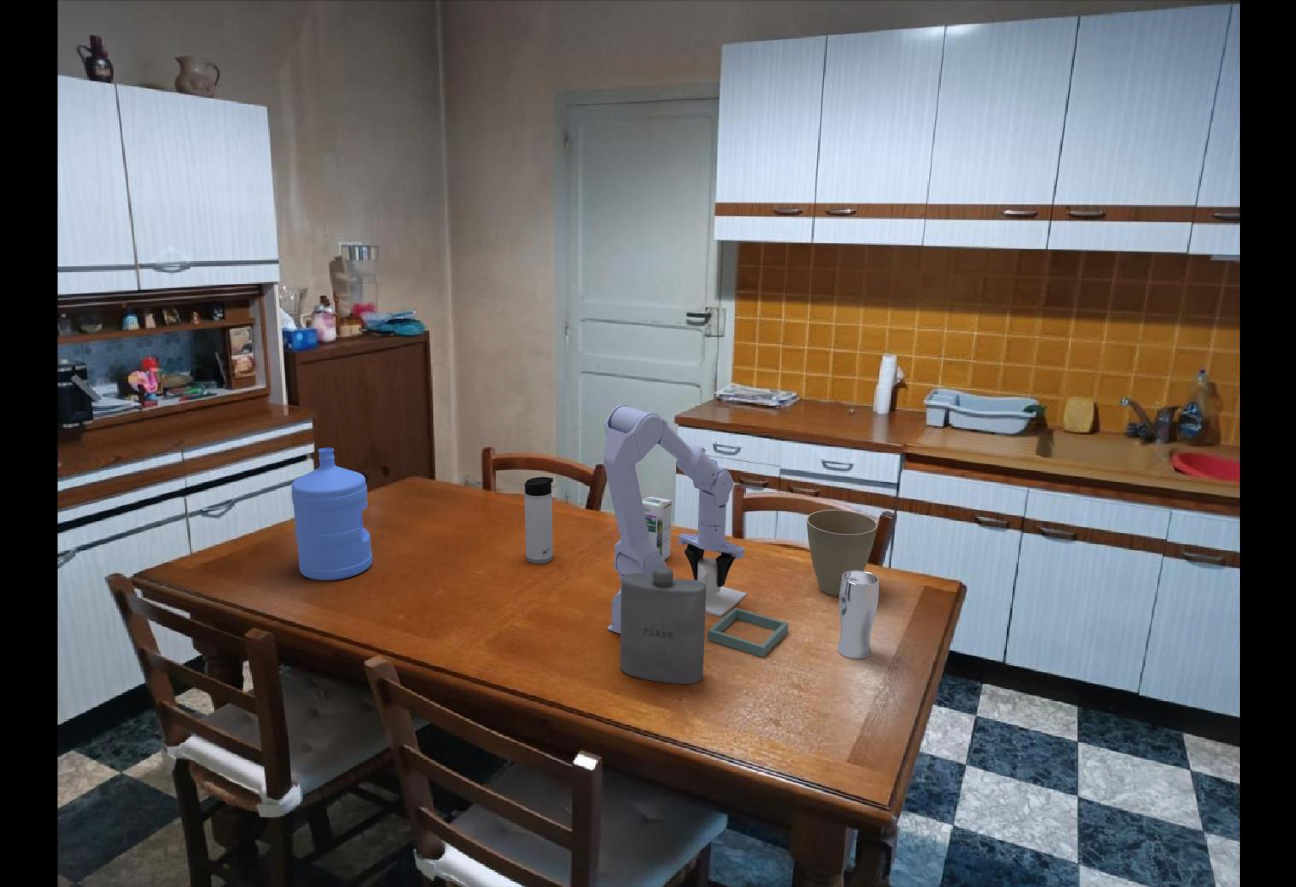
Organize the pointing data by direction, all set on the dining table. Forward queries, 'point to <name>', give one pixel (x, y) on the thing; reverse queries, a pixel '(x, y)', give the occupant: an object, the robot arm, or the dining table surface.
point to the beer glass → (857, 612)
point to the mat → (723, 601)
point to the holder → (745, 645)
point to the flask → (662, 627)
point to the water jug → (331, 521)
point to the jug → (708, 575)
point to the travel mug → (538, 520)
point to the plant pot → (839, 545)
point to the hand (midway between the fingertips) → (709, 582)
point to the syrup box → (659, 523)
